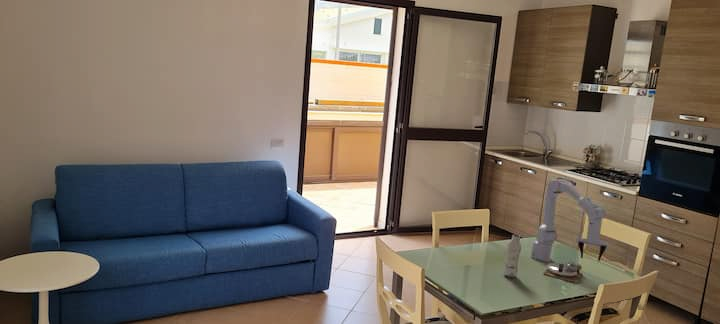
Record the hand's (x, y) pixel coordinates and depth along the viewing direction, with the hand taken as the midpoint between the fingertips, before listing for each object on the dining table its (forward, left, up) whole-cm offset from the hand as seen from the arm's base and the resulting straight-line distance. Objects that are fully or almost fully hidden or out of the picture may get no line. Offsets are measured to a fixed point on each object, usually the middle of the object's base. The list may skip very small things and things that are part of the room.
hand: (590, 259), depth 269 cm
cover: (-8, -1, -8) cm, 11 cm away
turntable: (-12, -1, -10) cm, 16 cm away
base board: (-11, -2, -10) cm, 15 cm away
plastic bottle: (-32, -25, -11) cm, 42 cm away
